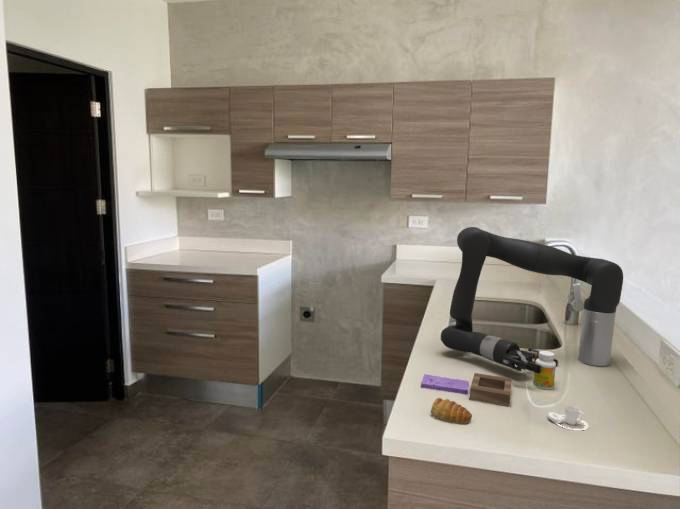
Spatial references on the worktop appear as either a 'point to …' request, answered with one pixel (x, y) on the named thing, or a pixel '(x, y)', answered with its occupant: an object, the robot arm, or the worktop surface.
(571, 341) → the worktop surface
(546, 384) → the supplement bottle
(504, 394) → the bottle holder
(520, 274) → the worktop surface
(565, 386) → the worktop surface
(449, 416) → the pastry
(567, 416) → the teacup and saucer
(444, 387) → the sponges
